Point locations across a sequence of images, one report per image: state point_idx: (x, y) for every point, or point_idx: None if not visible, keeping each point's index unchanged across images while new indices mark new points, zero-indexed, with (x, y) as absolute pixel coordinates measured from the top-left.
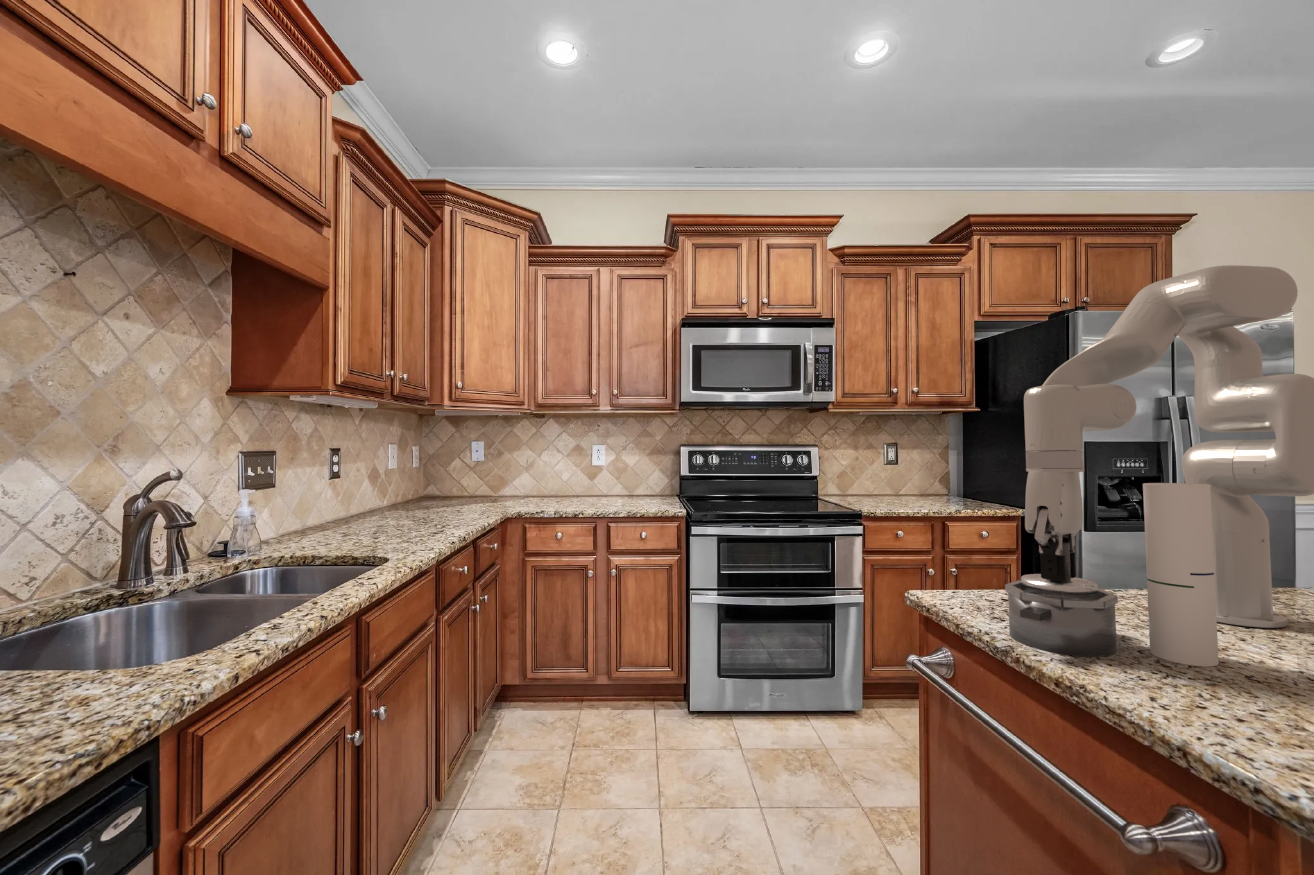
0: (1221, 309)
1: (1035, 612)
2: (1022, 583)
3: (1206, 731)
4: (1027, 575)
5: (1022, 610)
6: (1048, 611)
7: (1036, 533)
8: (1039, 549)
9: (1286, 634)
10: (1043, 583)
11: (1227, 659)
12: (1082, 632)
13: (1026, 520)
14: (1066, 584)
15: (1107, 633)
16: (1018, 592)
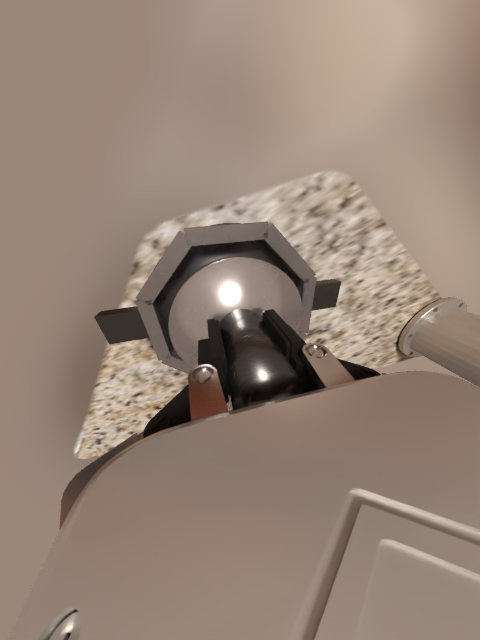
0: None
1: (111, 336)
2: (189, 276)
3: (114, 425)
4: (240, 265)
5: (97, 320)
6: (147, 337)
7: (62, 518)
8: (189, 379)
9: (389, 359)
10: (183, 331)
11: None
12: None
13: (10, 633)
14: None
15: None
16: (139, 292)
